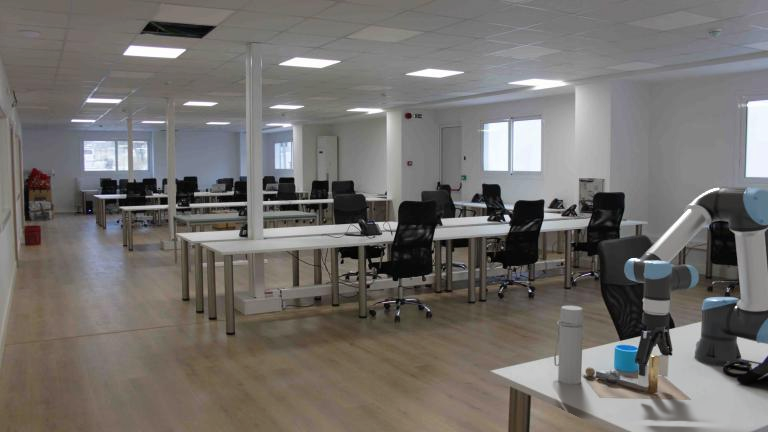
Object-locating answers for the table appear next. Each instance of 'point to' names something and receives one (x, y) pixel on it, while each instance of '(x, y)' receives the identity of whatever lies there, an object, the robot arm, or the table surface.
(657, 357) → the lever
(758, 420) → the table surface
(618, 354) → the mug
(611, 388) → the nutcracker base
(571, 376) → the water bottle
